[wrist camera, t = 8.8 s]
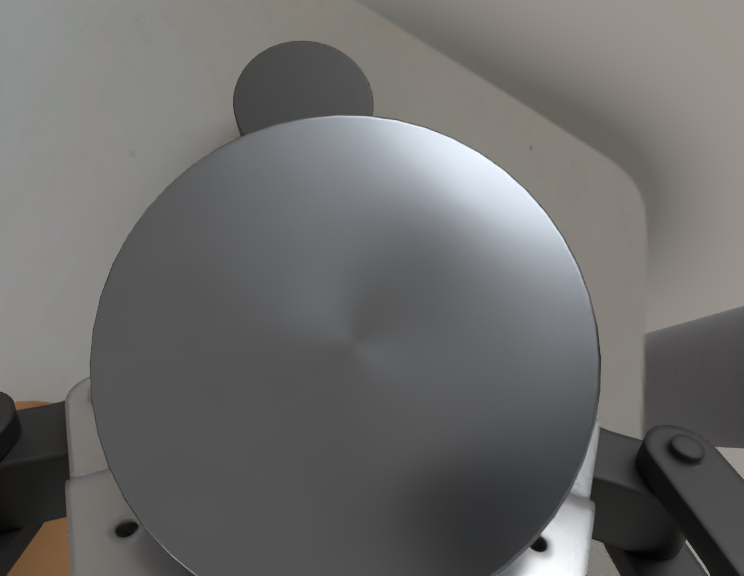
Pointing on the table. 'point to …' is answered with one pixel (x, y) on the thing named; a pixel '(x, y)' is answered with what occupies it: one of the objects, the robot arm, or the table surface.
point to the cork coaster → (44, 540)
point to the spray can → (345, 358)
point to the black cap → (299, 86)
